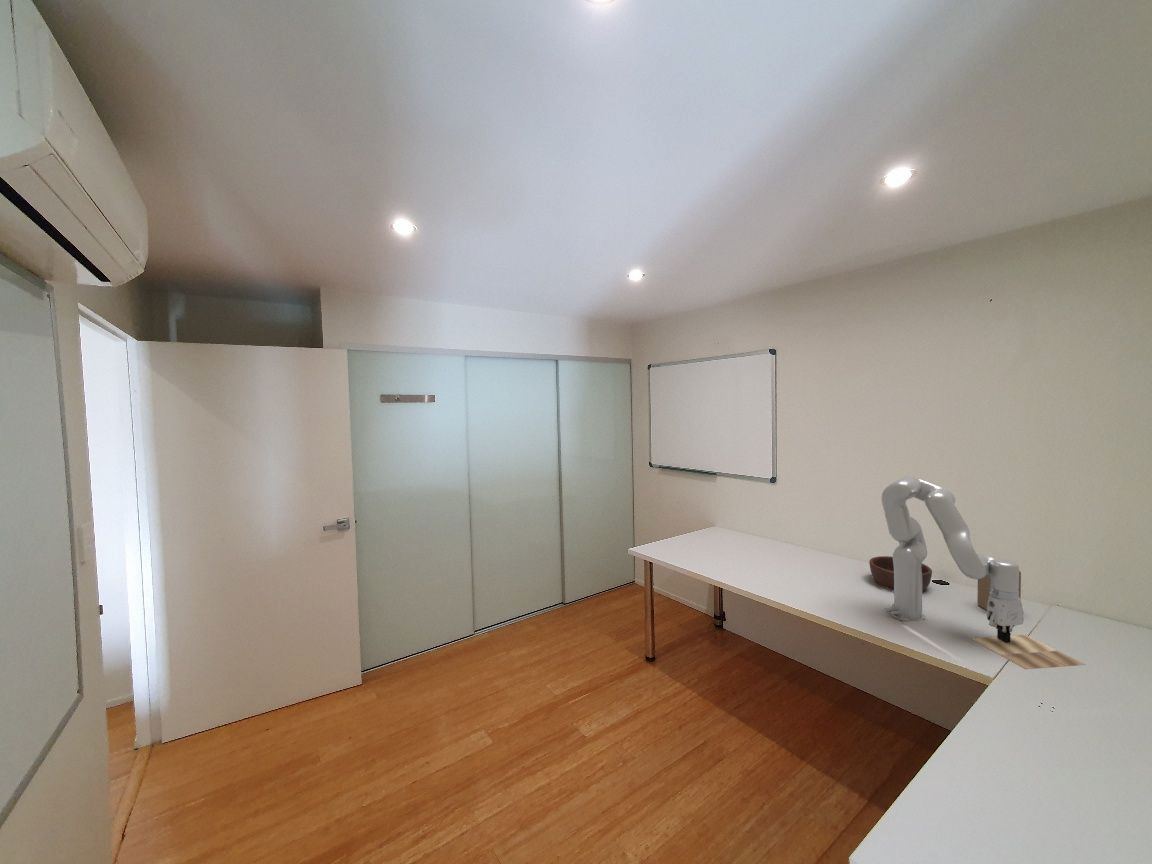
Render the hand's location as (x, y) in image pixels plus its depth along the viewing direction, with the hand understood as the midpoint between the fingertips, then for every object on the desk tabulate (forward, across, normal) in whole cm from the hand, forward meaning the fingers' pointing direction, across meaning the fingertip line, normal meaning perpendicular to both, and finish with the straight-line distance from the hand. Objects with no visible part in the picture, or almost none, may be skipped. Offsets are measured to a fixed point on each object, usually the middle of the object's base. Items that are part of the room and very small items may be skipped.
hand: (1003, 640), depth 156 cm
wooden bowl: (+2, +5, +53) cm, 53 cm away
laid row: (+2, +1, -12) cm, 12 cm away
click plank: (+1, +1, -2) cm, 3 cm away
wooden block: (+2, +24, +23) cm, 33 cm away
